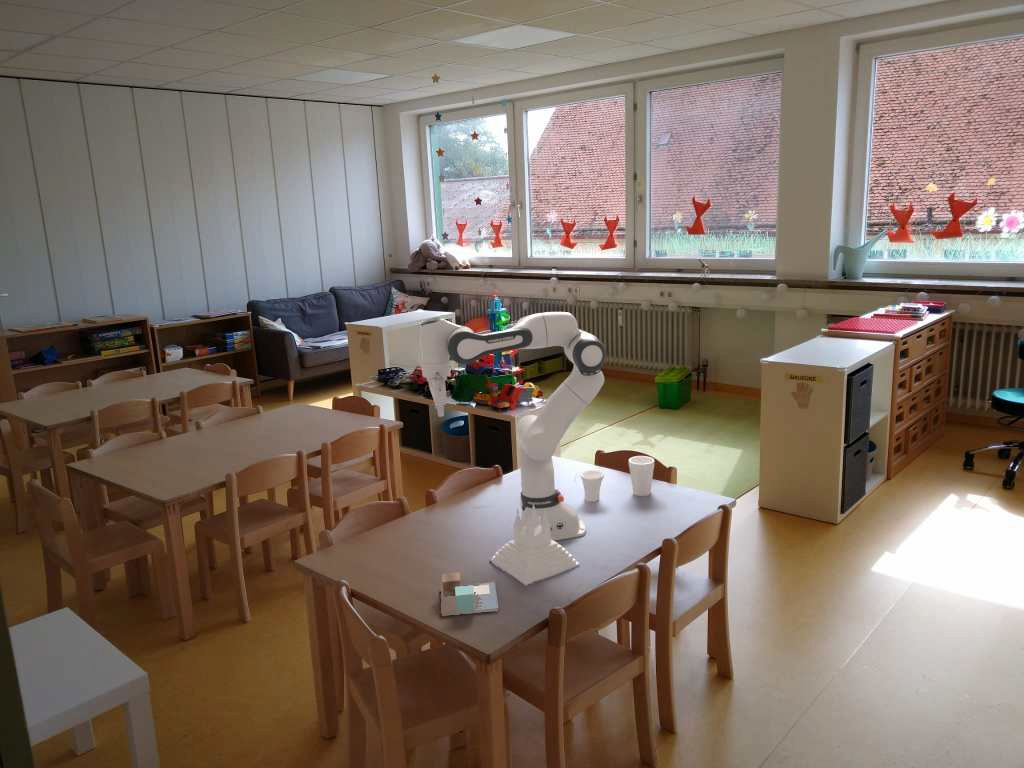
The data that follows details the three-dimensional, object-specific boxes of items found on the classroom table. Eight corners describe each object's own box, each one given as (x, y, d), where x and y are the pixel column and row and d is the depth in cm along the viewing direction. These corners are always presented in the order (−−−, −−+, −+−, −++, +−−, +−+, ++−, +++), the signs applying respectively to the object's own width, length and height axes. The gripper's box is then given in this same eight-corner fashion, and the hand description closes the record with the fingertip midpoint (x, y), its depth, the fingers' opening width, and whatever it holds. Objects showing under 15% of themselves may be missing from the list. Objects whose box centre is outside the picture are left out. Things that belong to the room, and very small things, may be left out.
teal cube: (474, 601, 217) (473, 585, 216) (475, 610, 212) (473, 593, 211) (456, 603, 216) (455, 586, 215) (456, 612, 211) (455, 595, 210)
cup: (590, 505, 281) (589, 480, 279) (576, 498, 289) (575, 472, 287) (610, 500, 285) (609, 474, 283) (595, 492, 293) (594, 467, 291)
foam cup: (656, 497, 286) (656, 463, 283) (631, 498, 286) (630, 465, 283) (652, 487, 295) (651, 455, 292) (627, 488, 295) (627, 456, 292)
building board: (494, 585, 227) (494, 581, 227) (498, 611, 213) (498, 607, 212) (440, 590, 226) (440, 586, 226) (440, 617, 211) (440, 613, 211)
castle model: (579, 566, 237) (577, 510, 232) (526, 586, 226) (522, 528, 222) (541, 544, 253) (538, 491, 249) (489, 562, 242) (485, 507, 238)
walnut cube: (460, 587, 225) (459, 572, 224) (461, 596, 220) (460, 580, 219) (443, 589, 224) (442, 573, 223) (443, 598, 219) (442, 582, 218)
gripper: (449, 375, 233) (452, 419, 237) (443, 362, 253) (446, 403, 256) (428, 377, 232) (432, 421, 236) (423, 364, 252) (427, 405, 255)
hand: (439, 412), depth 246 cm, fingers open, 8 cm apart
